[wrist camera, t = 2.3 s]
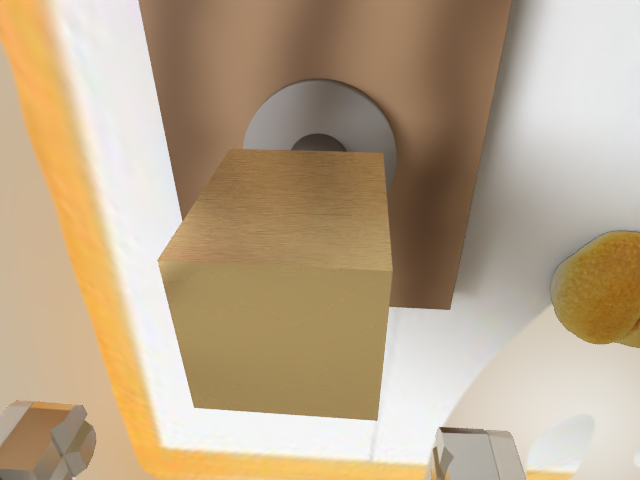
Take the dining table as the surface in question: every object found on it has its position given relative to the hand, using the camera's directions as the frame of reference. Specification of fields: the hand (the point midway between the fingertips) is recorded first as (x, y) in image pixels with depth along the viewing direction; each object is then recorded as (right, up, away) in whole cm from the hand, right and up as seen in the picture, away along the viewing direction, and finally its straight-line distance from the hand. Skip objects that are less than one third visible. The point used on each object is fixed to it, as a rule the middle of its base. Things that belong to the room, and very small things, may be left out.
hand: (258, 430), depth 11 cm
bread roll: (+21, +2, +19) cm, 28 cm away
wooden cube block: (+1, +5, +8) cm, 9 cm away
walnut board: (+2, +10, +15) cm, 18 cm away
